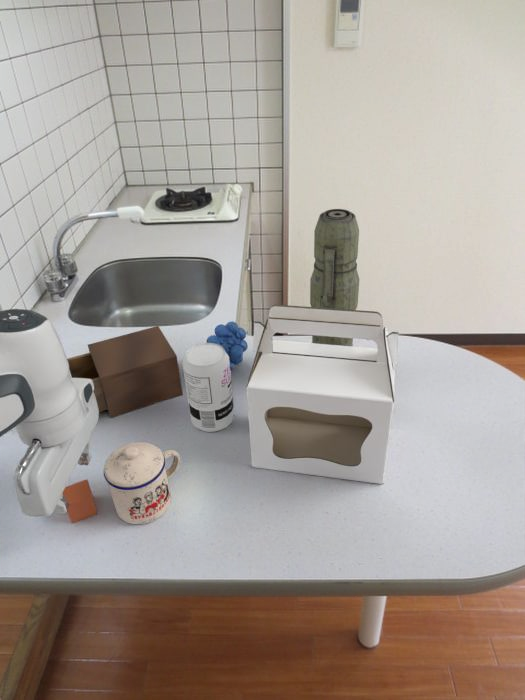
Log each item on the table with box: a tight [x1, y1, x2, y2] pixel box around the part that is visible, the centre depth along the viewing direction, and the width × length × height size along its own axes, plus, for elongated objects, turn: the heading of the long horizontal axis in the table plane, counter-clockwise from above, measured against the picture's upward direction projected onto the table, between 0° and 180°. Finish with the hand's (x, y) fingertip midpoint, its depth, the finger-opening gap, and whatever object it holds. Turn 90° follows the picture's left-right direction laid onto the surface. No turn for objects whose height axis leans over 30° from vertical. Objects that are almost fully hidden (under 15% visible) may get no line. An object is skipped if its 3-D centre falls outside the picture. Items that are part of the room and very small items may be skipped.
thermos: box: [309, 208, 360, 347], centre depth 98 cm, size 9×12×35 cm
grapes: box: [205, 320, 248, 372], centre depth 108 cm, size 12×7×12 cm, turn 140°
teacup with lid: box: [103, 441, 181, 525], centre depth 81 cm, size 12×9×12 cm
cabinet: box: [87, 325, 184, 418], centre depth 105 cm, size 15×13×10 cm
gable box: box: [245, 304, 399, 485], centre depth 84 cm, size 22×13×28 cm, turn 78°
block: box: [62, 479, 98, 524], centre depth 82 cm, size 4×4×4 cm
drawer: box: [67, 352, 108, 413], centre depth 102 cm, size 18×11×8 cm, turn 116°
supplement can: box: [182, 342, 236, 433], centre depth 95 cm, size 8×8×15 cm
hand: (74, 484), depth 80 cm, fingers open, 8 cm apart
